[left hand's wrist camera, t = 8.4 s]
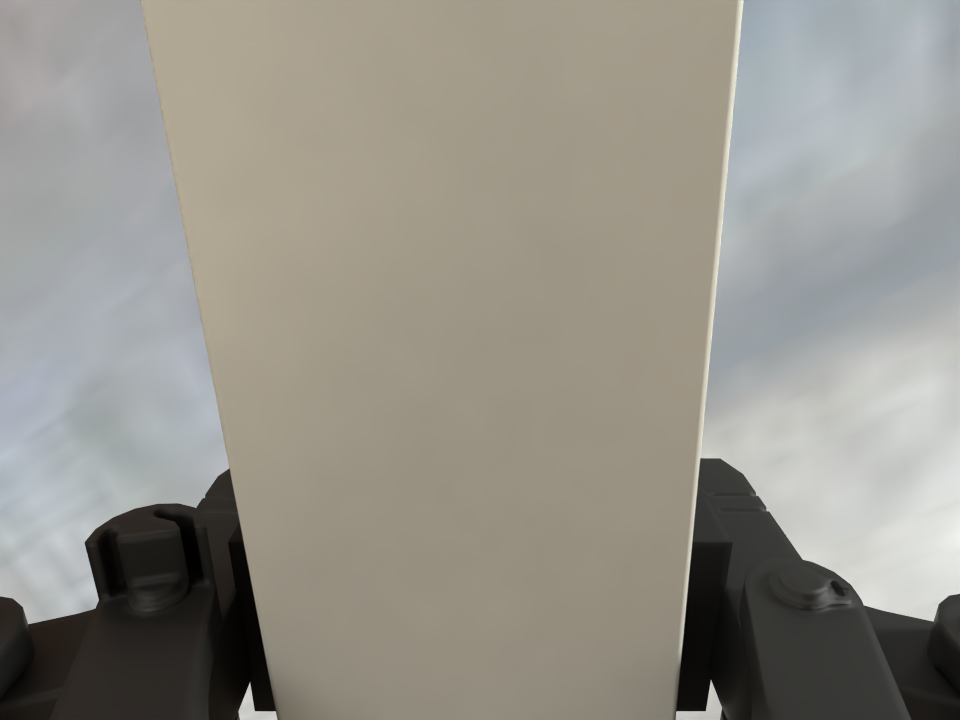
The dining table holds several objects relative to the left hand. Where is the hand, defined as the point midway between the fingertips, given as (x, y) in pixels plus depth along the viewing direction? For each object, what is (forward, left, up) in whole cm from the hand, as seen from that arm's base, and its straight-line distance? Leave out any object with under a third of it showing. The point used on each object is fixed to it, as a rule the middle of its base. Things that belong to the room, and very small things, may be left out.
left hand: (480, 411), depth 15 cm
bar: (+16, +12, -1) cm, 20 cm away
